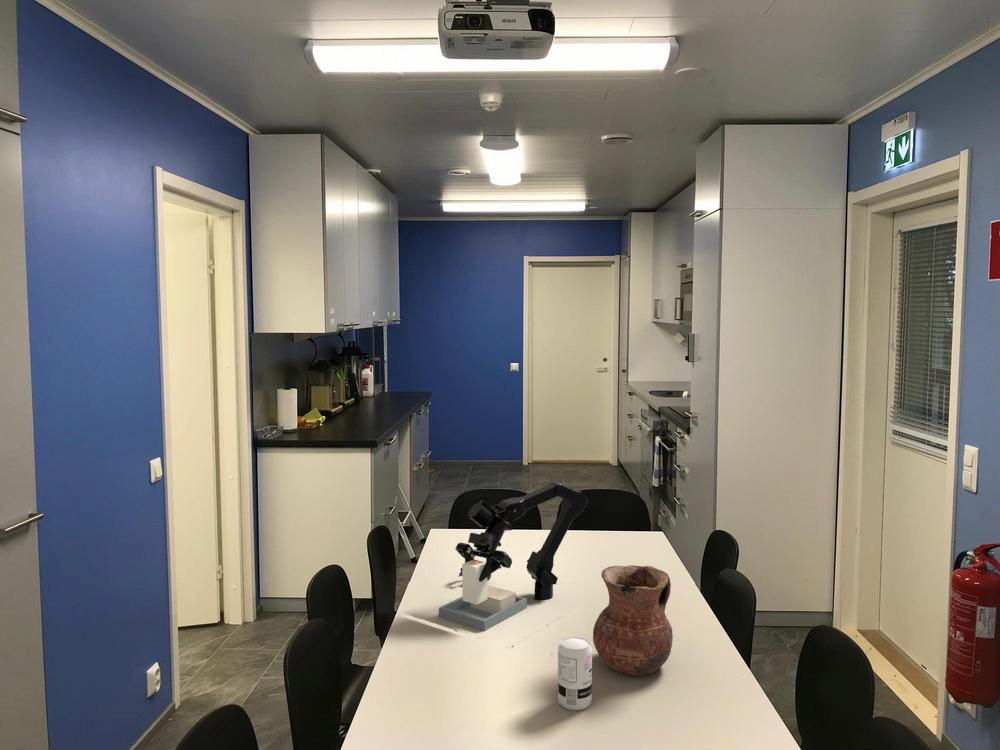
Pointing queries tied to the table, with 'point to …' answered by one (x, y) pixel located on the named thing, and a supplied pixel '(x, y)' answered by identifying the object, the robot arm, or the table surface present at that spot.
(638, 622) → the jug
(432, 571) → the table surface
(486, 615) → the tote
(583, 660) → the supplement can
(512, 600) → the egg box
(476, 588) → the juice carton
